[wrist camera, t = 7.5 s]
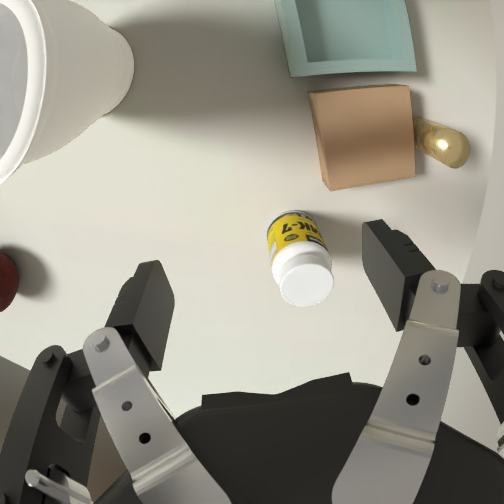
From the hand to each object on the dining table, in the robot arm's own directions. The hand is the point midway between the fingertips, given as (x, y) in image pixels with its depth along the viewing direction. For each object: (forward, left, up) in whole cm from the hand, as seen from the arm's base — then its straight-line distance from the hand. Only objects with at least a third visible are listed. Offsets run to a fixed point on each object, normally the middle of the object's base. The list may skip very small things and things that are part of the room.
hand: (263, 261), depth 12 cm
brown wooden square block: (-1, +10, -16) cm, 19 cm away
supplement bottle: (+8, +2, -16) cm, 18 cm away
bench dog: (0, +16, -16) cm, 23 cm away
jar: (-11, -12, -16) cm, 23 cm away
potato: (+5, -33, -16) cm, 37 cm away
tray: (-11, +9, -16) cm, 22 cm away
